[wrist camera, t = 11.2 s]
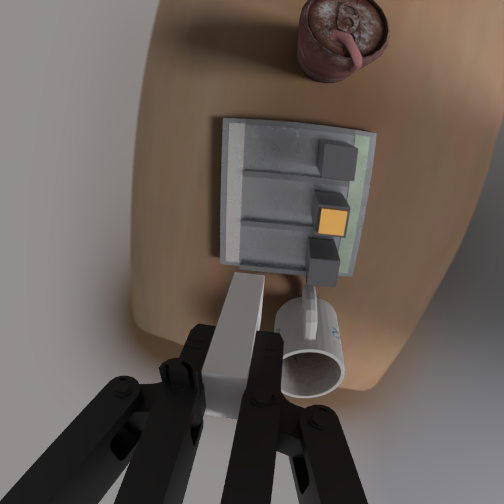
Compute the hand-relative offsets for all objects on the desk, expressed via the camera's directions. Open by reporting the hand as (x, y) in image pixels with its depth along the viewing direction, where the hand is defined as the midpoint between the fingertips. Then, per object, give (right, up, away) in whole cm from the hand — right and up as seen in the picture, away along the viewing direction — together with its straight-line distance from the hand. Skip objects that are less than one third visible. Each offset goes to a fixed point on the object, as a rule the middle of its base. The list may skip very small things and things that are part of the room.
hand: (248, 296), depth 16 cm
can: (+8, +23, +11) cm, 26 cm away
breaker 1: (+8, +12, +14) cm, 20 cm away
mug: (+8, -6, +25) cm, 27 cm away
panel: (+5, +8, +18) cm, 21 cm away
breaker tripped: (+8, +7, +16) cm, 20 cm away
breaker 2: (+8, +2, +19) cm, 21 cm away
